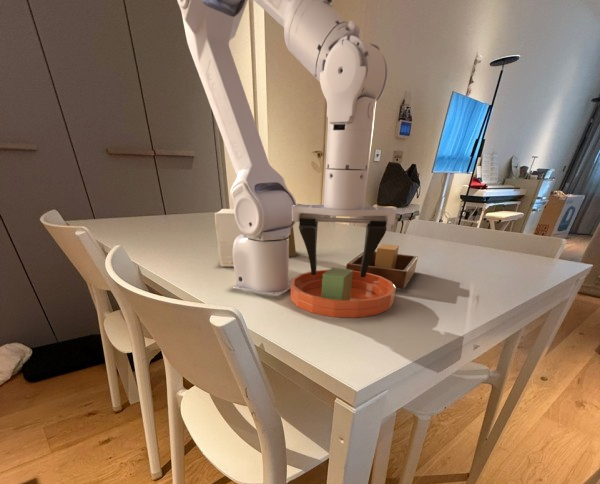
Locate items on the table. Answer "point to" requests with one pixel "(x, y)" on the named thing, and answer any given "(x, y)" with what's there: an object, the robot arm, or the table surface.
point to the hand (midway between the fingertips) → (338, 274)
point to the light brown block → (386, 256)
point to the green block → (337, 284)
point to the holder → (396, 276)
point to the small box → (226, 235)
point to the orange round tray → (363, 300)
